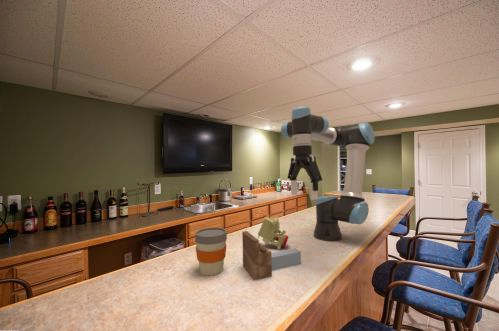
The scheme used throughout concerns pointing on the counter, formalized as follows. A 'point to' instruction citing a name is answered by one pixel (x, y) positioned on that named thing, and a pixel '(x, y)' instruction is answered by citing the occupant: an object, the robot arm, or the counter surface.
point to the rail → (285, 258)
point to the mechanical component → (272, 232)
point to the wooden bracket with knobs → (256, 257)
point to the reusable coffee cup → (211, 250)
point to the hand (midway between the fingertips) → (303, 197)
